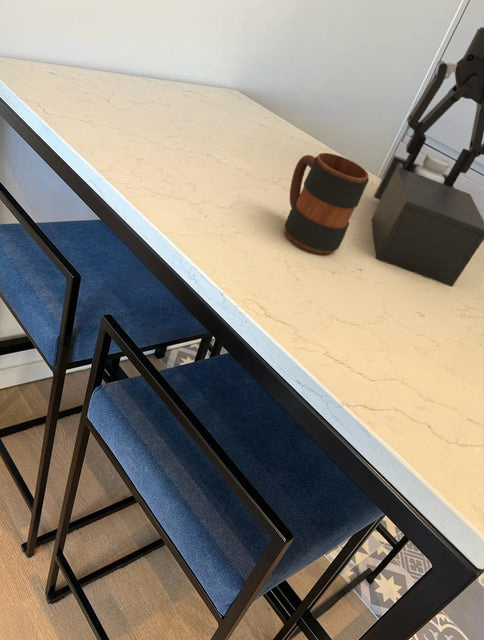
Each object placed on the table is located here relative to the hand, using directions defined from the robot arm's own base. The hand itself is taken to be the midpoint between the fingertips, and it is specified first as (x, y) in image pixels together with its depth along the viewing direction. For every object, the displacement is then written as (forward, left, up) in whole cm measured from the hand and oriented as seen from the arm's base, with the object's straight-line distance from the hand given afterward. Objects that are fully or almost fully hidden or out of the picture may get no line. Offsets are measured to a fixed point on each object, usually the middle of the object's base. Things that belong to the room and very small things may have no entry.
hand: (425, 180), depth 97 cm
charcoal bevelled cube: (0, +12, -8) cm, 14 cm away
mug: (+18, +20, -8) cm, 28 cm away
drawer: (0, -1, -7) cm, 7 cm away
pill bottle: (0, 0, -6) cm, 6 cm away
